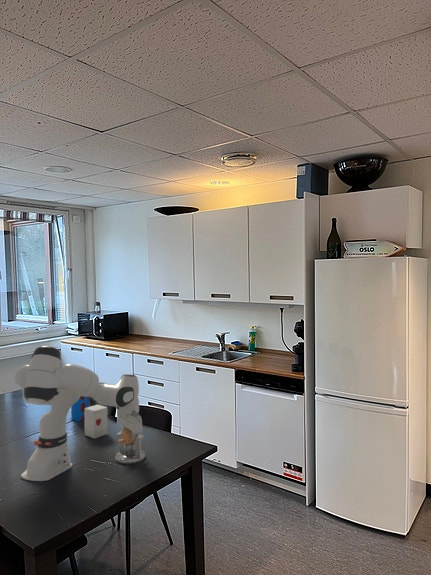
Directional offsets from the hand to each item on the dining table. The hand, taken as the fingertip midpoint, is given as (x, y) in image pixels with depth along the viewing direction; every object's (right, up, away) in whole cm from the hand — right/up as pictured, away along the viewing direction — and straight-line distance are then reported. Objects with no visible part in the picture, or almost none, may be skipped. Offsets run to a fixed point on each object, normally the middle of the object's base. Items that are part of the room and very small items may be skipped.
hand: (129, 437), depth 202 cm
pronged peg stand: (0, -10, 0) cm, 10 cm away
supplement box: (-25, -10, +31) cm, 40 cm away
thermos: (-42, -9, +58) cm, 72 cm away
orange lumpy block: (0, -2, 0) cm, 2 cm away
